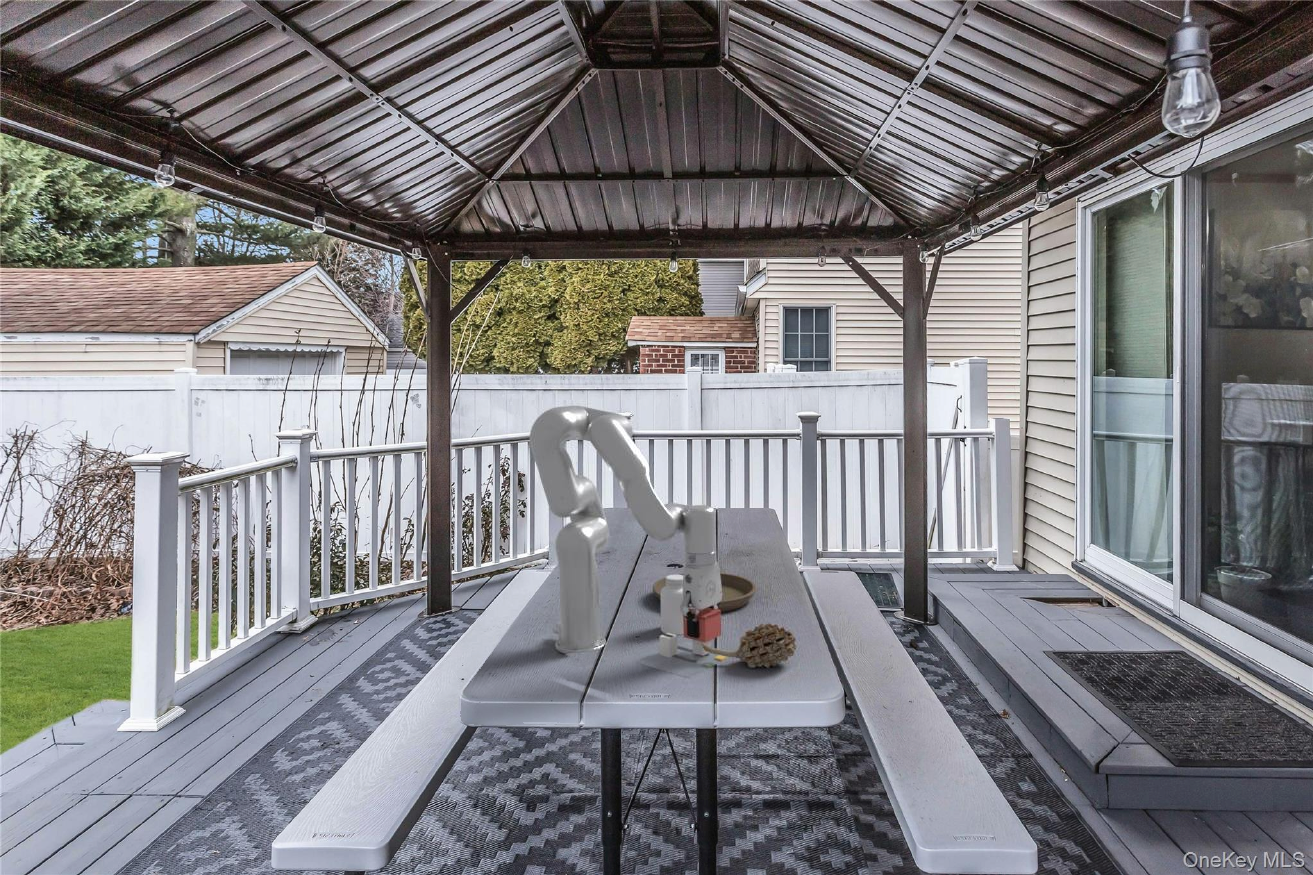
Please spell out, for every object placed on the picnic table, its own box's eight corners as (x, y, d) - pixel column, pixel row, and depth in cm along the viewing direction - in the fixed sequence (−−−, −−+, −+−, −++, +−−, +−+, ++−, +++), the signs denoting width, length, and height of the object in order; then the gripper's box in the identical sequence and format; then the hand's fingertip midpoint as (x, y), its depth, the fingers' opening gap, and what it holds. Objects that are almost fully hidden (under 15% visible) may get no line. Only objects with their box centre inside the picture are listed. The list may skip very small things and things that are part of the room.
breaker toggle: (692, 652, 181) (692, 634, 180) (700, 649, 183) (700, 631, 183) (703, 655, 179) (702, 637, 178) (710, 651, 181) (710, 633, 181)
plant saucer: (747, 619, 209) (747, 603, 209) (639, 612, 218) (639, 596, 218) (763, 588, 239) (763, 574, 239) (668, 583, 248) (668, 569, 247)
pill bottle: (697, 632, 199) (697, 576, 198) (677, 640, 193) (676, 582, 192) (675, 626, 204) (674, 571, 203) (654, 633, 198) (653, 577, 197)
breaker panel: (637, 666, 176) (636, 642, 176) (684, 644, 190) (684, 622, 189) (689, 682, 166) (688, 657, 166) (734, 658, 180) (734, 634, 180)
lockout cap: (683, 637, 180) (683, 612, 180) (699, 629, 185) (699, 605, 184) (705, 642, 176) (705, 617, 175) (721, 634, 181) (720, 610, 180)
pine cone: (795, 657, 178) (792, 616, 177) (800, 673, 168) (797, 629, 168) (701, 662, 180) (698, 621, 179) (701, 678, 170) (697, 635, 170)
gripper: (691, 568, 170) (693, 646, 171) (734, 553, 183) (735, 625, 185) (664, 563, 175) (667, 639, 176) (709, 549, 188) (710, 620, 189)
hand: (702, 631), depth 180 cm, fingers closed on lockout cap, 6 cm apart
